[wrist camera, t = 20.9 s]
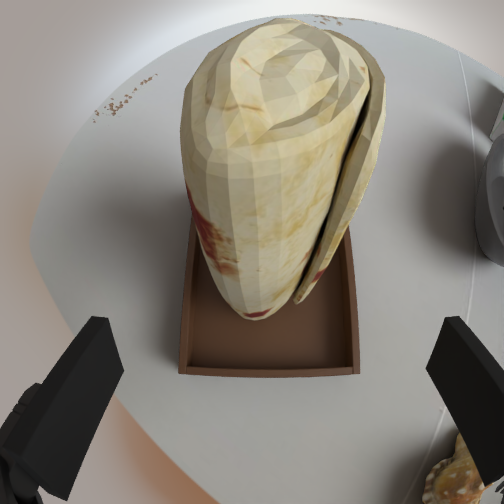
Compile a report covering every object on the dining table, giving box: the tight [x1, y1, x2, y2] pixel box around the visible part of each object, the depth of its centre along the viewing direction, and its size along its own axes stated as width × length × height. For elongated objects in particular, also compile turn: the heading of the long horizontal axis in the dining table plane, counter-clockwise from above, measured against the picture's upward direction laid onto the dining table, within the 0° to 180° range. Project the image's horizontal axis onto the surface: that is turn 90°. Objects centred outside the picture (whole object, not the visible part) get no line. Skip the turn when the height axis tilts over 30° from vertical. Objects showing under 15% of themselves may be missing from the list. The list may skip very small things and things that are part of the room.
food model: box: [180, 18, 386, 321], centre depth 16 cm, size 10×7×20 cm
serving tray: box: [178, 214, 360, 378], centre depth 25 cm, size 13×16×3 cm
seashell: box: [422, 433, 494, 504], centre depth 15 cm, size 9×8×10 cm
